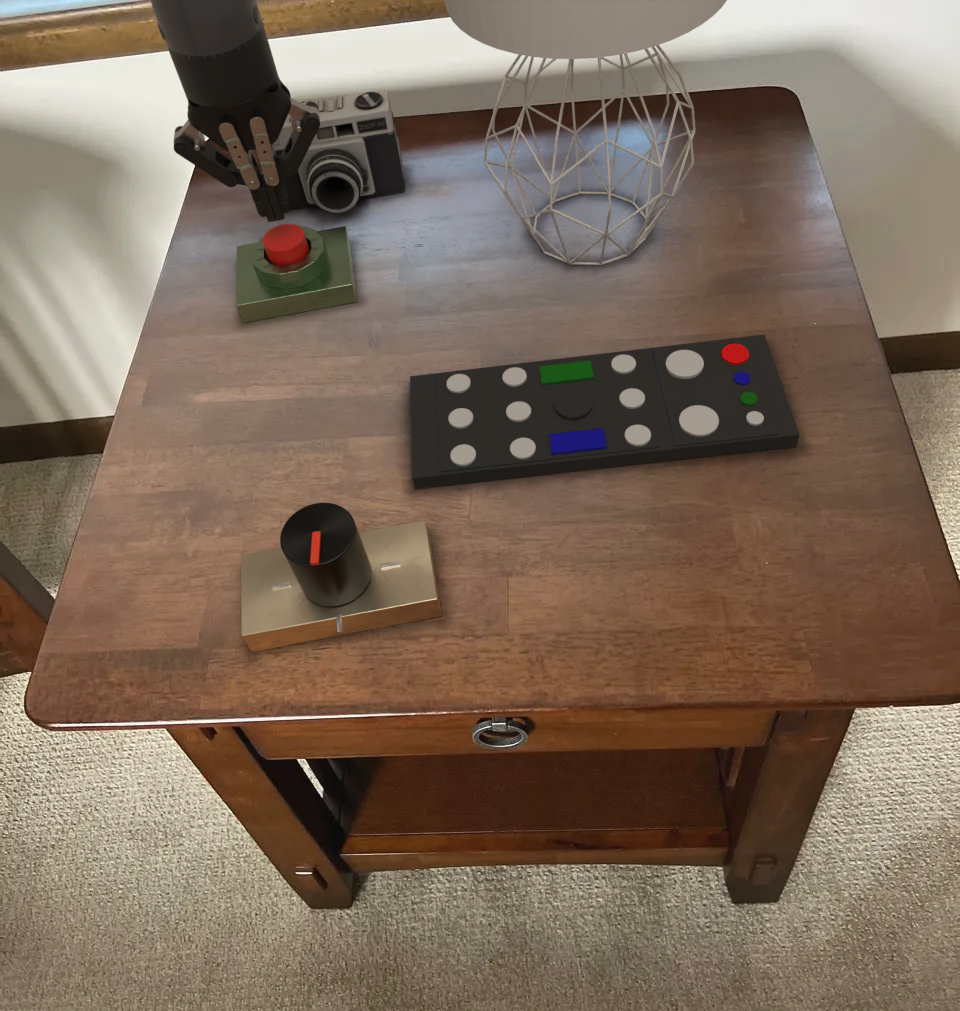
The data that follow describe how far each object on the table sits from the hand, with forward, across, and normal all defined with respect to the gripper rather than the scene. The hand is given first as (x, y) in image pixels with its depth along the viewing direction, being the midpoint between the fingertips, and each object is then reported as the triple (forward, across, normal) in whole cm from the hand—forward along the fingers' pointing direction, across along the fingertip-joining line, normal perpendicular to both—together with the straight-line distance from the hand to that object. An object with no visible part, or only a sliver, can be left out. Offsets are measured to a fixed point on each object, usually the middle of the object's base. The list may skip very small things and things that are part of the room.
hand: (276, 215), depth 84 cm
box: (+8, 0, 0) cm, 8 cm away
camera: (+8, -5, -12) cm, 15 cm away
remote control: (+8, -24, +24) cm, 35 cm away
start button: (+4, 0, 0) cm, 4 cm away
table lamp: (+8, -29, 0) cm, 30 cm away
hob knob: (+5, -2, +37) cm, 37 cm away
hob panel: (+8, -2, +37) cm, 37 cm away
